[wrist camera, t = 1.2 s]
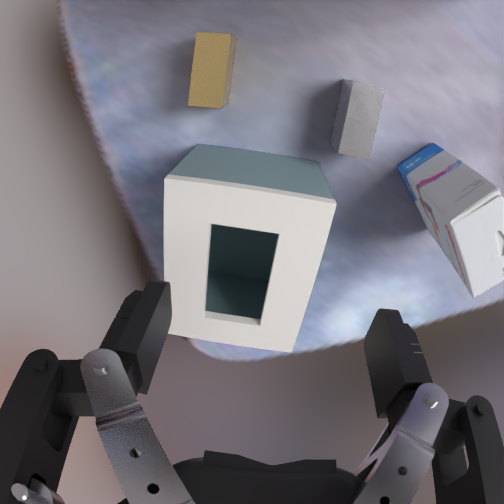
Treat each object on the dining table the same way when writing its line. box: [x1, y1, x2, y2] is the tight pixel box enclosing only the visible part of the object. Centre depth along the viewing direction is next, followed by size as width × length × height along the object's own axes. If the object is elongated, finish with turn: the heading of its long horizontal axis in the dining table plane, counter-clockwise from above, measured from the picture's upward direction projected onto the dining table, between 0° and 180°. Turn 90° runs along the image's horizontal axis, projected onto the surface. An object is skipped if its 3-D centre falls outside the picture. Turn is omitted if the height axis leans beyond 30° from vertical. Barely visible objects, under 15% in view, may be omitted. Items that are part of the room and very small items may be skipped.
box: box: [164, 144, 337, 352], centre depth 28 cm, size 14×11×10 cm
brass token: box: [188, 32, 237, 109], centre depth 23 cm, size 3×6×4 cm, turn 172°
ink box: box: [398, 143, 504, 298], centre depth 23 cm, size 9×5×12 cm, turn 38°
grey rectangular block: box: [330, 79, 385, 160], centre depth 24 cm, size 3×6×4 cm, turn 172°
